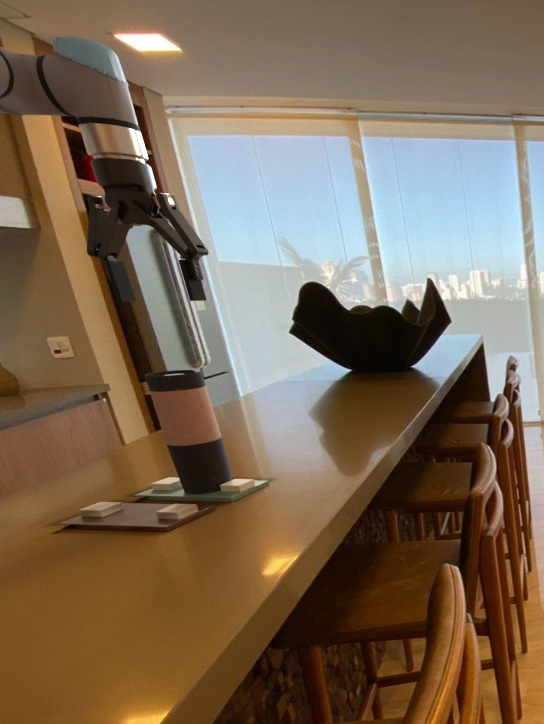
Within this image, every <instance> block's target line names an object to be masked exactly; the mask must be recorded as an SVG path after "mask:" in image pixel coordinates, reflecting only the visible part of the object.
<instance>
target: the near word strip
mask: <svg viewBox="0 0 544 724" xmlns="http://www.w3.org/2000/svg"><path fill="white" fill-rule="evenodd" d="M214 511H216V507H215V504H214V505H213V504H196V503H194V504H193V503H141V502H139V503H137V502H120V501H119V502H118V501H99V502H97V503H94V504H91V505H89V506H86V507H83V508H80V509H78V512H79V514H80V515H77V516H75V517H72V518H69V519H66V520H64V521H60V522H59V524H63V525H64V524H66V525H67V526H64V527H62V529H71V530H72V529H73V530H104V531H131V532H133V531H134V532H135V531H136V532H166V533H167V532H171V531H172V530H174V529H175V530H176V529H177V528H179V527H181V526H183V525H185V524H187V523H190V522H192V521H195V520H197V519H198V518H201V517H203V516H205V515H207V514H209V513H211V512H214Z"/></svg>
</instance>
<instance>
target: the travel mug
mask: <svg viewBox="0 0 544 724" xmlns="http://www.w3.org/2000/svg"><path fill="white" fill-rule="evenodd" d="M144 379H145V381H146V386H147V388H148V390H149V395H150V398H151V400H152V403H153V406H154V410H155V413H156V416H157V419H158V422H159V426H160V429H161V432H162V435H163V438H164V441H165V444H166V447H167V449H168V453H169V454H170V458H171V460H172V463H173V466H174V469H175V471H176V474H177V476H178V477H177V478H179V479H180V482H181V485H182V487H183V490H184V492H185V493H187V494H205V493H211V492H216V491H220V490H221V488H220V485H222V484H224V483H226V482H229V481H231V480H233V477H232V473H231V469H230V466H229V460H228V457H227V453H226V448H225V445H224V442H223V438H222V434H221V430H220V428H219V427H220V426H219V424H218V420H217V418H216V415H215V410H214V408H213V405H212V404H213V403H212V401H211V398H210V395H209V391H208V387H207V385H206V381H205V378H204V375H203V371H202V370H199V371H196V370H193V369H177V370H175V369H174V370H165V371H156V372H155V371H154V372H150V373H145V374H144Z"/></svg>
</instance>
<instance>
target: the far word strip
mask: <svg viewBox="0 0 544 724" xmlns="http://www.w3.org/2000/svg"><path fill="white" fill-rule="evenodd" d="M150 485H151V488H150V489H147V490H144V491H142V492H139V493H136V494H135V496H142V497H140V498H137V500H139V501H140V500H141V501H143V500H144V501H176V502H177V501H179V502H182V501H183V502H217V503H218V502H220V503H221V502H222V503H233V502H235V501H238V500H240V499H241V498H244V497H246V496H248V495H251V494H252V493H255V492H256V491H259V490H261V489H264V488H265V487H268V486H269V485H270V483H269V480H255V479H254V478H234V479H232V480H231V481H229V482H226V483H224V484H222V485H220V488H221V490H220V491H216V492H211V493H205V494H187V493H185V492H184V490H183V487H182V485H181V482H180V479H179V477H175V476H173V477H172V476H170V477H169V476H168V477H166V478H163V479H160V480H158V481H155V482H152V483H150Z"/></svg>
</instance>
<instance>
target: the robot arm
mask: <svg viewBox="0 0 544 724" xmlns="http://www.w3.org/2000/svg"><path fill="white" fill-rule="evenodd" d="M51 44H52V49H53V50H52V52H53V54H48V55H46V54H45V55H43V54H42V55H39V54H29V53H28V54H27V53H17V52H13V51H11V50H9V49H6V48H4V47H3V46H0V114H9V115H14V116H16V117H17V116H19V117H23V116H52V117H53V116H56V117H75V118H76V121H77V124H78V129H79V130H80V134H81V137H82V141H83V144H84V147H85V150H86V154H87V155H88V156H89V157H92V158H93V159H91V160H90V162H89V163H90V166H91V169H92V172H93V175H94V178H95V182H96V184H97V185H98V186H100V187H101V188H102V190H103V191H104V196H101V195H94V194H87V196H86V201H87V205H88V209H89V213H88V226H87V240H86V254H87V255H88V256H89V257H93V258H97V259H99V260H100V261H101V263H102V265H103V268H104V271H105V273H106V277H107V279H108V280H109V282H111V284H112V287H113V290H114V293H115V297H116V299H117V302H120V303H121V302H122V303H123V302H137V299H136V296H135V295H136V294H135V292H134V290H133V286H132V283H131V280H130V277H129V274H128V271H127V267H126V265H125V261H122V259H121V257H120V255H121V252H122V250H123V248H124V244H125V241H126V239H127V236H128V234H129V231H130V230H131V229H133V228H134V227H141V226H149V227H151V228H153V230H155V232H156V233H157V234H158V235H160V236H161V238H162V239H163V240H165V242H167V244H169V245H170V247H172V248H173V250H175V251H176V252H177V253H178V255H180V256H179V259H178V264H179V267H180V271H181V274H182V278H183V281H184V284H185V288H186V292H187V295H188V299H189V301H190V302H206V301H207V297H206V293H205V289H204V286H203V280H204V274H203V271H202V265H201V262H200V259H201V258H202V257H204V256H209V249H208V247H206V245H205V244H204V242H203V241H202V239H201V238H200V236H199V235H198V234H197V231H195V229H194V227H193V226H192V225H191V223H190V222H189V220H188V219H187V218H186V216H185V214H184V212H182V211H181V209H180V206H179V203H178V200H177V198H176V196H175V195H173V194H169V193H162V192H157V193H155V191H156V190H157V188H158V187H157V183H156V180H155V176H154V173H153V169H152V166H150V165H149V164H148V163H147V161H149V156H148V153H147V150H146V146H145V142H144V139H143V135H142V132H141V128H140V126H139V123H138V119H137V115H136V111H135V108H134V104H133V101H132V97H131V93H130V90H129V87H130V85H129V83H128V81H127V78H126V76H125V73H124V70H123V68H122V65H121V62H120V59H119V56H118V55H117V53H116V52H115V51H114V50H113V49H111V48H110V47H108V46H106V45H105V44H103V43H101V42H99V41H95V40H92V39H89V38H85V37H81V36H80V37H79V36H72V35H62V36H55V37H54V38H52V43H51ZM160 209H161V212H162V213H163V214H162V213H161V212H160Z"/></svg>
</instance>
